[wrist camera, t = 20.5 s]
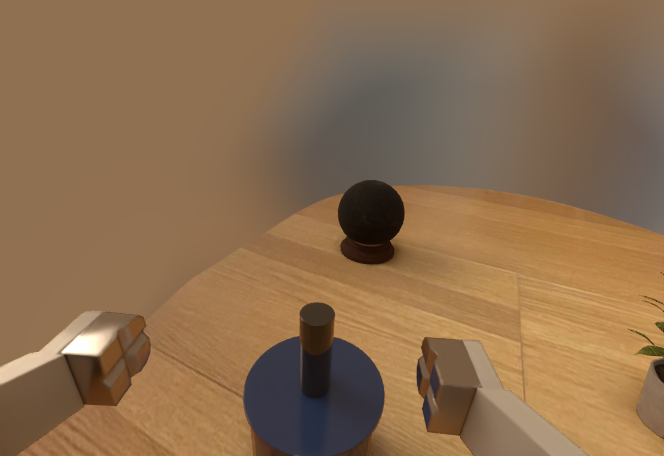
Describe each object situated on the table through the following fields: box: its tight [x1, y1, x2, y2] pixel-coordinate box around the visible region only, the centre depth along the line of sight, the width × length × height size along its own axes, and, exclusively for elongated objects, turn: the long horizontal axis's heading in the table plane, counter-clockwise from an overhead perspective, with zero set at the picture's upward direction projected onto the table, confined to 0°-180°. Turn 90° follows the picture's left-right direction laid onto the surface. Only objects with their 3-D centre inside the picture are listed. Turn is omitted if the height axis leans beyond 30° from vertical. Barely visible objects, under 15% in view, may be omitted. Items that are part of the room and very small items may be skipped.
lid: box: [243, 302, 385, 456], centre depth 26 cm, size 12×12×9 cm
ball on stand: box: [338, 180, 404, 264], centre depth 66 cm, size 13×13×15 cm
